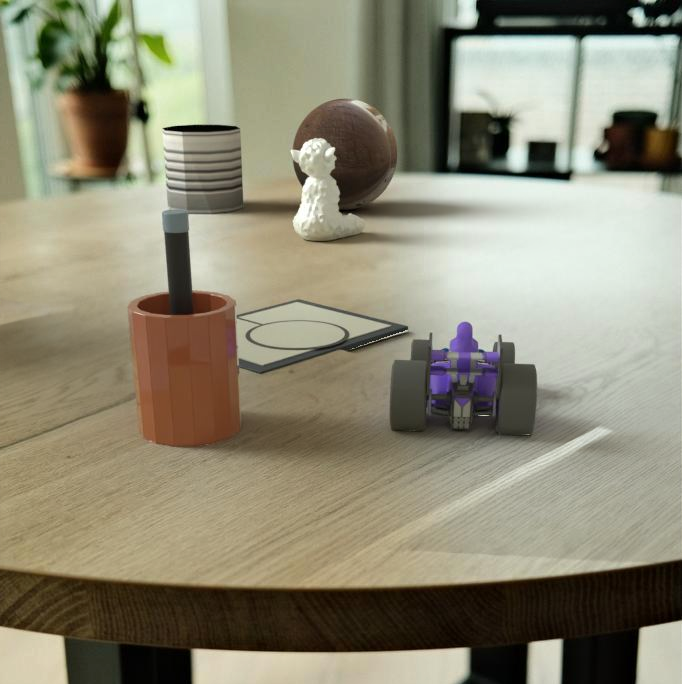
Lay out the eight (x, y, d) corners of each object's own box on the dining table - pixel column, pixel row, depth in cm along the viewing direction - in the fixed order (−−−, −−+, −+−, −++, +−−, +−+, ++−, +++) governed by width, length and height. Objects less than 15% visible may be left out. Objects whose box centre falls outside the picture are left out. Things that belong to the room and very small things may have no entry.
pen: (173, 426, 69) (156, 211, 63) (191, 420, 70) (176, 208, 64) (188, 432, 68) (172, 214, 62) (206, 425, 69) (193, 211, 63)
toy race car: (521, 375, 80) (528, 293, 77) (533, 447, 67) (541, 352, 64) (400, 371, 81) (402, 290, 78) (388, 441, 68) (390, 347, 65)
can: (152, 211, 147) (145, 122, 142) (189, 199, 157) (184, 115, 152) (223, 215, 144) (218, 125, 138) (257, 203, 153) (254, 118, 148)
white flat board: (150, 343, 88) (149, 335, 88) (298, 304, 100) (298, 297, 99) (260, 379, 79) (260, 370, 79) (408, 332, 91) (408, 324, 91)
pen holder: (120, 434, 69) (106, 303, 65) (198, 409, 73) (189, 285, 70) (183, 461, 65) (173, 323, 61) (262, 433, 69) (257, 302, 65)
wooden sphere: (391, 219, 141) (394, 103, 135) (285, 217, 143) (282, 102, 136) (399, 201, 155) (402, 95, 148) (302, 199, 156) (300, 94, 150)
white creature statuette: (366, 232, 133) (367, 134, 128) (350, 245, 126) (350, 142, 120) (296, 228, 135) (294, 132, 130) (277, 241, 128) (274, 140, 122)
